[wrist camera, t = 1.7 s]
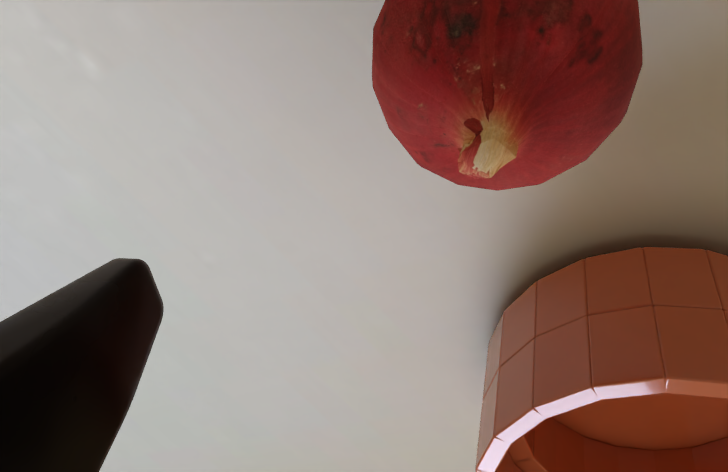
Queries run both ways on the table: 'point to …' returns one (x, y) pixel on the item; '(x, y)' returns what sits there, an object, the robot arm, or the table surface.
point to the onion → (504, 83)
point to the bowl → (612, 368)
